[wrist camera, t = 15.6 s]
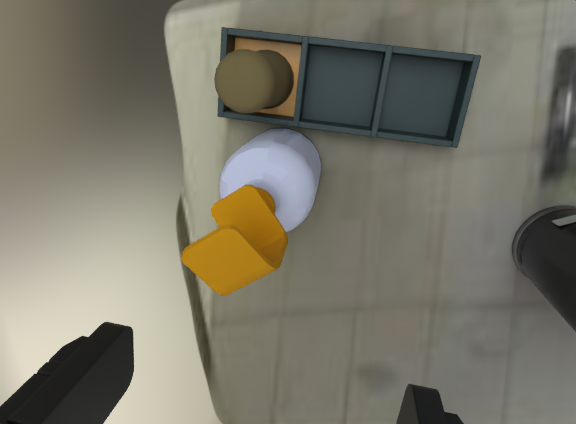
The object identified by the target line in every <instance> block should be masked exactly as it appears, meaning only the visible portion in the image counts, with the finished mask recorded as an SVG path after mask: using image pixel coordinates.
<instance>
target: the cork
mask: <svg viewBox="0 0 576 424" xmlns="http://www.w3.org/2000/svg"><path fill="white" fill-rule="evenodd" d="M293 85H294V73H293V70H292V68H291V65H290V63H289V62H288V61H287V59H286V58H285V57H284V56H282V55H281V54H280V53H278V52H276V51H272V50H269V49H267V50H259V51H252V50H249V49H238V50H235V51H233V52H231V53H228V54H227V55H226V56H225V57H224V58H223V59H222V60H221V61H220V63H219V65H218V67H217V69H216V73H215V88H216V91H217V93H218V96H219V98H220V99H221V100H222V102H223V103H224V104H225V105H226V106H228V107H229V108H231V109H232V110H233V111H236V112H240V113H253V112H256V111H258V110H261V109H262V108H263V109H268V108H274V107H277V106H280V105H281V104H282V103H284V102H285V101H286V100H287V99H288V97H289V96H290V94H291V92H292V89H293Z"/></svg>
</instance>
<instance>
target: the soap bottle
mask: <svg viewBox="0 0 576 424" xmlns="http://www.w3.org/2000/svg"><path fill="white" fill-rule="evenodd" d="M320 173H321V163H320V158H319V153H318V152H317V150H316V148H315V147H314V145H313V144H312V142H311V141H310V140H309V139H307V138H306V137H305V136H304V135H302V134H301V133H300V132H297V131H294V130H291V129H288V128H272V129H270V130H267V131H265V132H263V133H260V134H259V135H257V136H256V137H254V138H253V139H252V140H250V141H249V142H248V143H246V144H245V145H243V146H242V147H241V148H239V149H238V150H237V151H236V152H235V153H234V154H233V155H232V156H231V157H230V158H229V159H228V160H227V161H226V164H225V166H224V168H223V170H222V172H221V175H220V189H219V191H220V195H221V200H220V201H218V202H216V203H215V204H214V205H213V207H212V209H211V213H212V217H213V218H214V219H215V221H216V222H217V224H218V225H219V226H220V227H219V228H218V229H216V230H214V231H213V232H211V233H209V234H208V235H206V236H204V237H202V238H201V239H199V240H197V241H196V242H194V243H192V244H191V245H189V246H187V247H186V248H185V249H184V251H183V252H182V256H181V258H182V262H183V263H184V264H185V265H186V266H187V267H188V268H190V269H191V270H192V271H193V272H194V273H195V274H196V275H197V276H198V277H199V278H201V279H202V280H203V281H204V282H205V283H206V284H207V285H208V286H209V287H210V288H212V289H213V290H214V291H215V292H217V293H218V294H220V295H223V296H227V295H229V294H231V293H233V292H234V291H236V290H238V289H240V288H242V287H244V286H246V285H248V284H250V283H252V282H253V281H255V280H257V279H259V278H261V277H263V276H265V275H267V274H269V273H271V272H273V271H274V270H276V269H278V268H279V267H280V265H281V262H282V259H283V256H284V253H285V250H286V247H287V244H288V238H287V235H286V232H287V231H290V230H293V229H294V228H295V227H297V226H298V225H299V224H300V223H302V222H303V221H304V220H305V219H306V217H307V215H308V214H309V212H310V210H311V208H312V207H313V204H314V200H315V196H316V192H317V188H318V184H319V179H320Z"/></svg>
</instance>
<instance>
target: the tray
mask: <svg viewBox="0 0 576 424" xmlns="http://www.w3.org/2000/svg"><path fill="white" fill-rule="evenodd" d="M238 49H249V50H252V51H259V50H267V49H269V50H272V51H276V52H278V53H280V54H281V55H282V56H284V57H285V58H286V59H287V61H288V62H289V63H290V65H291V68H292V70H293V73H294V85H293V89H292V92H291V94H290V96H289V97H288V99H287V100H286V101H285V102H284V103H282V104H281V105H280V106H277V107H274V108H268V109H263V108H262V109H261V110H258V111H256V112H253V113H240V112H236V111H233V110H232V109H231V108H229V107H228V106H226V105H225V104H224V103H223V102H222V100H221V99H220V98H219V97H218V117H225V118H232V119H240V120H248V121H255V122H263V123H271V124H278V125H286V126H294V127H301V128H309V129H317V130H324V131H332V132H340V133H347V134H355V135H363V136H371V137H378V138H386V139H393V140H401V141H409V142H416V143H424V144H432V145H439V146H447V147H455V148H457V147H458V143H459V139H460V135H461V131H462V127H463V124H464V120H465V116H466V112H467V108H468V104H469V100H470V97H471V93H472V89H473V85H474V81H475V77H476V73H477V69H478V66H479V62H480V58H481V55H473V54H463V53H454V52H445V51H436V50H427V49H418V48H408V47H399V46H390V45H381V44H372V43H363V42H353V41H344V40H335V39H326V38H317V37H307V36H298V35H289V34H280V33H271V32H262V31H252V30H243V29H234V28H225V27H222V32H221V54H220V61H221V60H222V59H223V58H224V57H225V56H226V55H227V54H228V53H231V52H233V51H235V50H238Z"/></svg>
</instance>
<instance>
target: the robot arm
mask: <svg viewBox="0 0 576 424" xmlns="http://www.w3.org/2000/svg"><path fill="white" fill-rule="evenodd" d="M513 257H514V260H515V263H516V265H517V266H518V268H519V269H520V270H521V271H522V273H523V274H524V275H525V276H527V277H528V278H529V279H530V280H531V281H532V282H533V284H534V285H535V286H536V287H537V288H538V290H539V291H540V292H541V293H542V294H543V295H544V296H545V297H546V299H547V300H548V301H549V302H550V303H551V304H552V305H553V307H554V308H555V309H556V310H557V311H558V312H559V313H560V315H561V316H562V317H563V318H564V319H565V320H566V321H567V322H568V324H569V325H570V326H571V327H572V328H573V329H574V330H575V332H576V207H574V206H557V207H552V208H548V209H545V210H543V211H541V212H539V213H537V214H535V215H534V216H532V217H531V218H529V219H528V220H527V221H526V222H525V223H524V224H523V225H522V226H521V228H520V229H519V231H518V232H517V234H516V236H515V239H514V242H513ZM133 352H134V350H133V330H132V328H131V327H129V326H124V325H119V324H114V323H109V322H104V323H103V324H101V325H100V326H99V327H98V328H97V329H96V330H95V331H94V332H93V333H92V334H91V335H90V336H89V337H85V336H81V337H79V338H78V339H76V340H74V341H72V342H70V343H68V344H67V345H65V346H63V347H62V348H61V349H60V350H59V351H58V352H57V353H56V354H55V355H54V356H53V357H52V358H51V359H50V360H49V362H46V363H45V364H44V365H43V366H42V367H41V368H40V369H39V370H38V372H37V374H34V375H33V376H32V377H31V378H30V379H29V380H28V381H26V382H25V383H24V384H23V385H22V386H21V387H20V388H19V389H18V390H17V391H16V392H15V393H14V394H13V395H12V396H11V397H10V398H9V399H8V400H7V401H5V402H4V403H3V404H2V405H1V406H0V424H103V423H104V421H105V420H106V419H107V417H108V416H109V414H110V413H111V412H112V410H113V409H114V407H115V406H116V404H117V403H118V402H119V400H120V399H121V398H122V396H123V395H124V393H125V392H126V390H127V389H128V387H129V385H130V382H131V380H132V376H133V372H134V353H133ZM396 424H464V423H463V422H462V421H461V419H460V418H459V417H458V415H457V414H452V413H447V412H444V409H443V405H442V401H441V398H440V394H439V392H438V390H437V389H432V388H427V387H422V386H418V385H413V384H408V386H407V388H406V391H405V395H404V398H403V402H402V405H401V409H400V412H399V416H398V419H397V423H396Z"/></svg>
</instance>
